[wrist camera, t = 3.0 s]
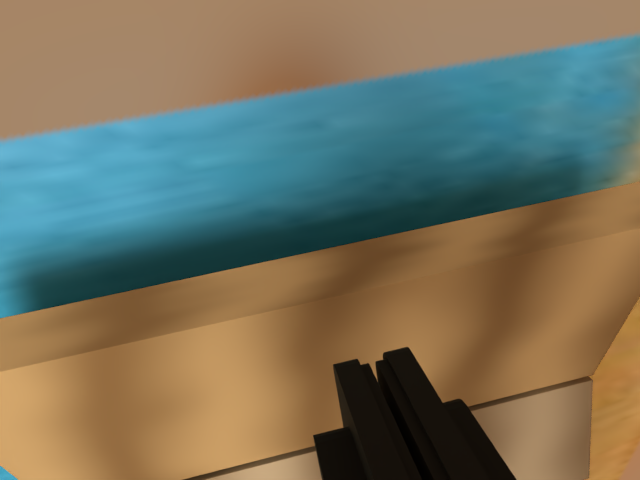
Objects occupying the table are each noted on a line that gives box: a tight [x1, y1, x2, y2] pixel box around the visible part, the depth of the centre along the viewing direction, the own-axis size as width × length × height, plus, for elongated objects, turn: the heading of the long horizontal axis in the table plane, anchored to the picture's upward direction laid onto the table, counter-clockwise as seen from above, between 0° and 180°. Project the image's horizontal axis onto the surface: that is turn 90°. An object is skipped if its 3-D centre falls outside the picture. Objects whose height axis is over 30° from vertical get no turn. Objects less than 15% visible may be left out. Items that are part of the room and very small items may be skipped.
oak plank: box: [0, 182, 640, 480], centre depth 20 cm, size 24×10×2 cm, turn 99°
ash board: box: [183, 376, 593, 480], centre depth 25 cm, size 24×6×2 cm, turn 99°
